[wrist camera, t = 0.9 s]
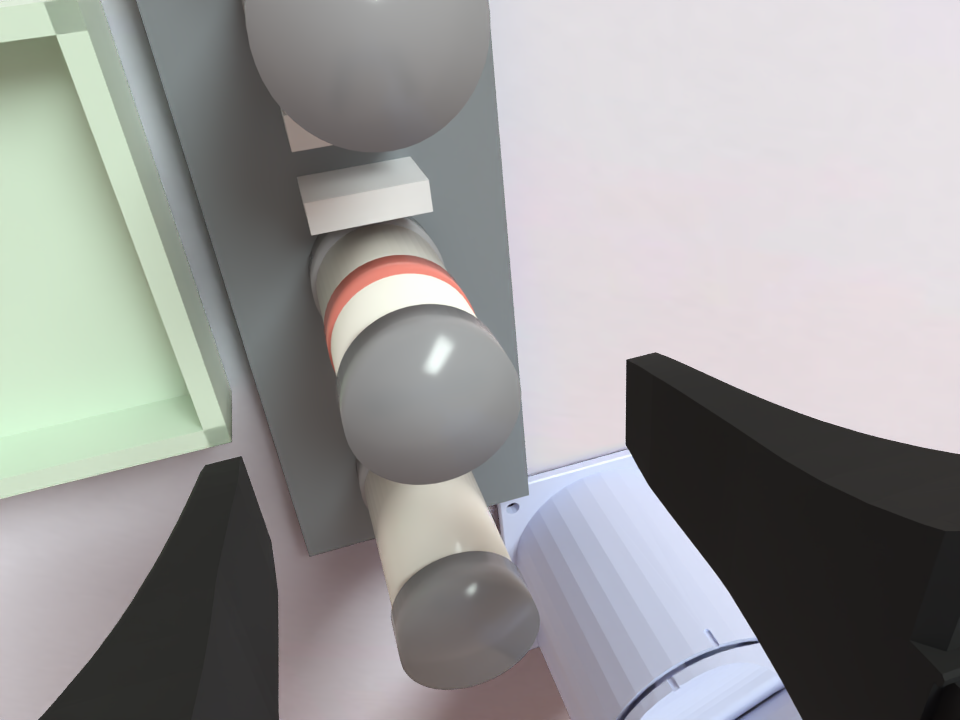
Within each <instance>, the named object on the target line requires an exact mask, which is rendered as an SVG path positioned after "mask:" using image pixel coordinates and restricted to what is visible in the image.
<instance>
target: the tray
mask: <svg viewBox="0 0 960 720" xmlns="http://www.w3.org/2000/svg"><path fill="white" fill-rule="evenodd" d="M230 442H232V391H231V388H230V386H229V383H228V380H227V377H226V374H225V371H224V368H223V365H222V362H221V359H220V356H219V353H218V350H217V347H216V344H215V341H214V338H213V335H212V332H211V329H210V326H209V323H208V320H207V317H206V314H205V311H204V308H203V305H202V302H201V299H200V296H199V293H198V290H197V287H196V284H195V281H194V278H193V275H192V272H191V269H190V266H189V263H188V260H187V257H186V254H185V251H184V248H183V245H182V242H181V239H180V236H179V233H178V230H177V227H176V224H175V222H174V219H173V216H172V213H171V210H170V207H169V204H168V201H167V198H166V195H165V192H164V189H163V186H162V183H161V180H160V177H159V174H158V171H157V168H156V165H155V162H154V159H153V156H152V153H151V150H150V147H149V144H148V141H147V138H146V135H145V132H144V129H143V126H142V123H141V120H140V117H139V114H138V111H137V108H136V105H135V102H134V99H133V96H132V93H131V90H130V87H129V84H128V81H127V78H126V75H125V72H124V69H123V66H122V63H121V60H120V57H119V55H118V52H117V49H116V46H115V43H114V40H113V37H112V34H111V31H110V28H109V25H108V22H107V19H106V16H105V13H104V10H103V7H102V4H101V1H100V0H3V1H0V499H3V498H7V497H11V496H15V495H19V494H23V493H27V492H31V491H35V490H39V489H43V488H47V487H51V486H55V485H60V484H64V483H68V482H72V481H76V480H80V479H84V478H88V477H92V476H96V475H100V474H104V473H108V472H112V471H116V470H121V469H125V468H129V467H133V466H137V465H141V464H145V463H149V462H153V461H157V460H161V459H165V458H169V457H173V456H177V455H181V454H186V453H190V452H194V451H198V450H202V449H206V448H210V447H214V446H218V445H222V444H226V443H230Z"/></svg>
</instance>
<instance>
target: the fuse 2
mask: <svg viewBox="0 0 960 720" xmlns="http://www.w3.org/2000/svg"><path fill="white" fill-rule="evenodd" d="M356 472H357V477H358V481H359V485H360V490H361V494H362V498H363V501H364V503H365V505H366V507H367V508H368V509H369V513H370V518H371V522H372V526H373V530H374V534H375V538H376V543H377V547H378V551H379V555H380V559H381V563H382V568H383V572H384V576H385V580H386V584H387V588H388V593H389V597H390V601H391V605H392V610H391V621H392V626H393V631H394V635H395V639H396V643H397V648H398V652H399V656H400V661H401V664H402V667H403V669H404V671H405V672H406V674H407V675H408V676H409V677H410V678H411V679H413V680H414V681H415V682H417V683H419V684H421V685H423V686H426V687H429V688H434V689H442V690H453V689H462V688H467V687H472V686H475V685H479V684H481V683H484V682H487V681H489V680H491V679H493V678H495V677H497V676H499V675H501V674H503V673H504V672H506V671H507V670H509V669H510V668H511V667H513V666H514V665H515V664H516V663H518V662H519V661H520V660H521V659H522V658H523V657H524V656H525V654H526V653H527V652H528V651H529V650H530V648H531V647H532V645H533V643H534V641H535V639H536V637H537V635H538V632H539V627H540V616H539V612H538V609H537V607H536V604H535V602H534V600H533V598H532V596H531V593H530V591H529V589H528V587H527V585H526V582H525V580H524V578H523V576H522V574H521V572H520V570H519V569H518V567H517V566H516V565H515V564H514V563H513V562H512V561H511V558H510V556H509V554H508V552H507V549H506V547H505V545H504V543H503V540H502V538H501V536H500V534H499V531H498V529H497V527H496V525H495V523H494V520H493V518H492V516H491V514H490V511H489V509H488V507H487V505H486V502H485V500H484V498H483V496H482V493H481V491H480V489H479V487H478V484H477V482H476V480H475V478H474V476H473V473H472V471H470V472H468V473H467V474H464V475H462V476H460V477H457V478H454V479H451V480H448V481H445V482H440V483H436V484H427V485H410V484H402V483H398V482H393V481H390V480H387V479H385V478H382V477H380V476H378V475H376V474H374V473H373V472H371V471H370V470H369V469H367V468H366V467H365V466H364V465H363V464H362V463H361V462H360V461H359V460H358V459H357V458H356Z"/></svg>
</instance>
